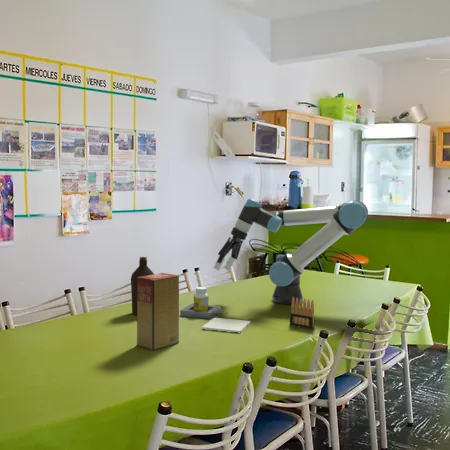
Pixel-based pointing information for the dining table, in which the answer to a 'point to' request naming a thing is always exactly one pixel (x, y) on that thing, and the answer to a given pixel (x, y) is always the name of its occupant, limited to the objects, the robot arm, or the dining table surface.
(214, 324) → the cream tile
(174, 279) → the food packaging
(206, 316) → the metal collar
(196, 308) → the pill bottle
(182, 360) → the dining table surface
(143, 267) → the olive oil
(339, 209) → the robot arm
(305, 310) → the ammunition clip
